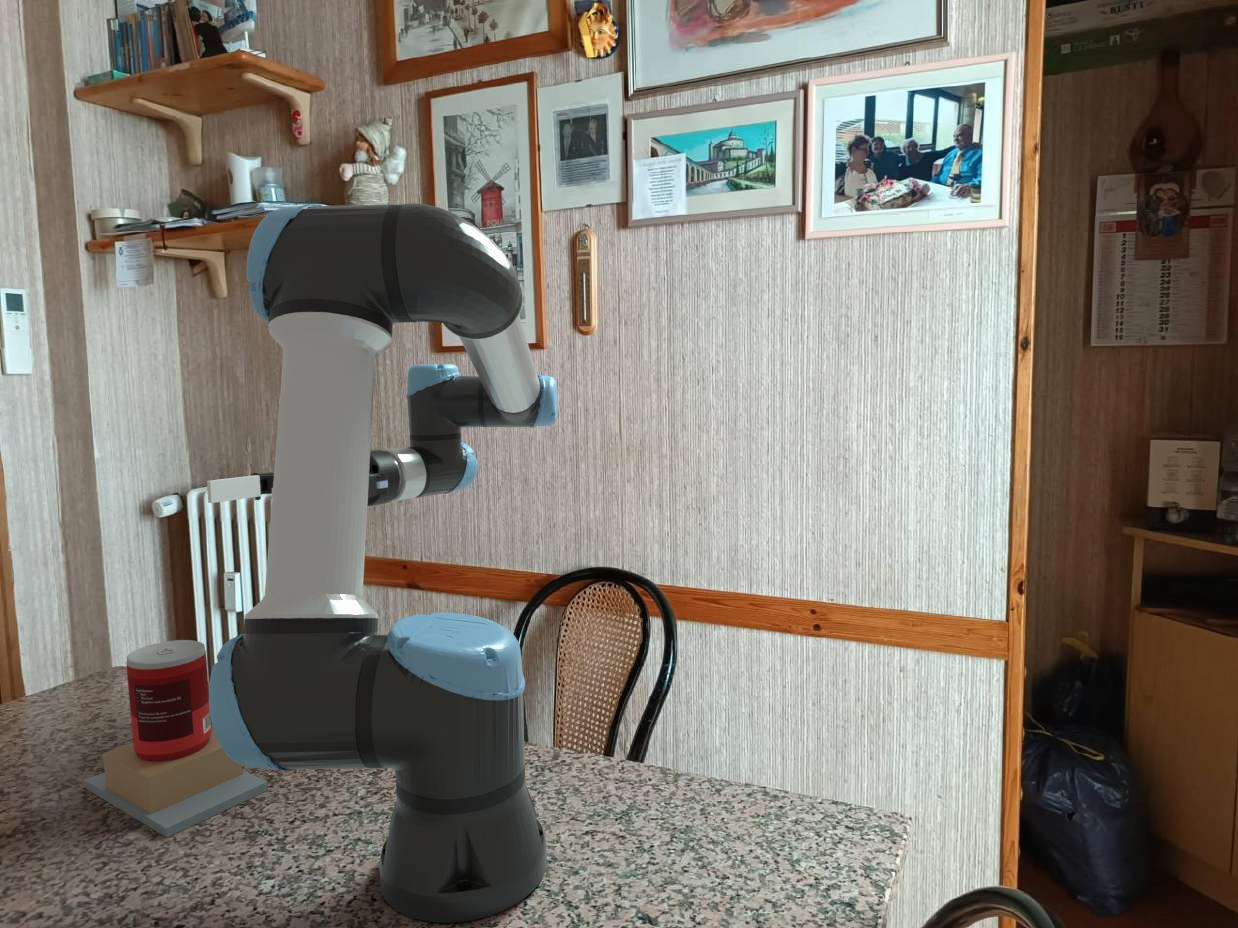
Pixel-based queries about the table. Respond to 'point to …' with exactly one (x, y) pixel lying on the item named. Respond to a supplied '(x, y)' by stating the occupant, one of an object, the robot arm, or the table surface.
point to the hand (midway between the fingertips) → (239, 495)
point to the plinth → (188, 805)
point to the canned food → (169, 699)
